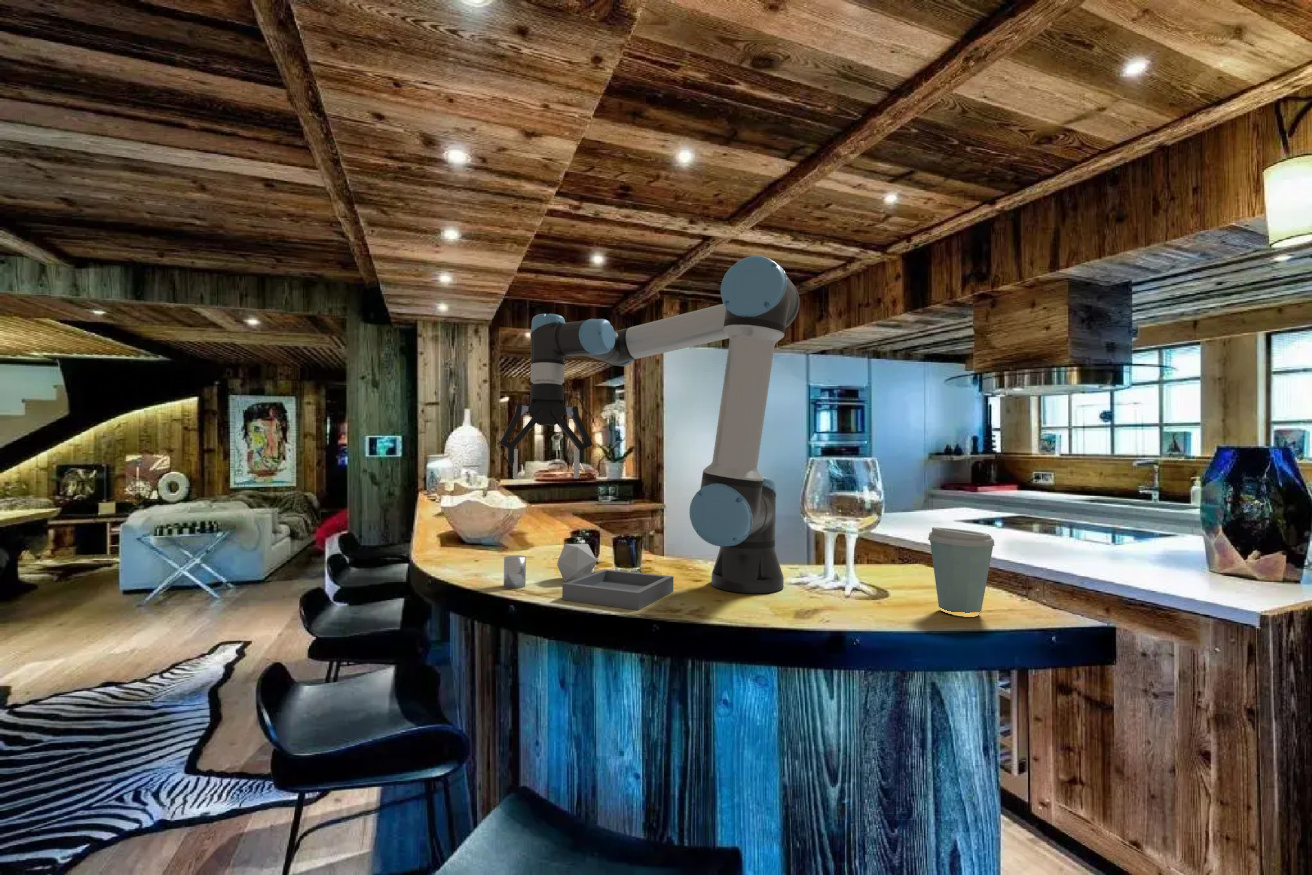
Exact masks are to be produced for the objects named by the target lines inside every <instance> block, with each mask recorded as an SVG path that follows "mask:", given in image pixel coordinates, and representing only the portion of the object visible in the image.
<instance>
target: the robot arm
mask: <svg viewBox="0 0 1312 875" xmlns="http://www.w3.org/2000/svg"><path fill="white" fill-rule="evenodd" d="M720 284H721V285H720V297H721V300H722V304H716V305H714V306H709V307H706V308H701V309H698V310H693V311H690V312H689V311H688V312H685V313H681V314H678V315H674V316H669V317H665V318H662V319H659V320H654V321H650V322H646V323H642V324H639V325H635V326H634V325H633V326H631V327H627V328H623V329H619V330H614V327H613V325H611V322H610V320H607V319H605V318H598V319H597V318H590V319H585V320H579V321H570V322H566V321H565V318H564V317H563V316H562V315H560V314H555V313H540V314H536V315H535V316H533V317H532V320H531V328H530V333H529V334H530V335H529V336H530V357H531V358H530V359H531V360H530V382H531V383H532V384H531V385H530V386H529V387H530V388H529V389H530V390H529V392H530V395H529V405H528V406H527V405H522V404H520V403H518V404H517V405H516V406H515V410H514V411H515V412H514V415H513V416H512V419H511V421H510V423H509V424H508V426H507V428H506V430H505V432H504V434H503V436H502V438H501V439H500V441H499V444H500V446H502V447H504V448H506V449H507V452H508V453H507V461H508V464H513V465H512V479H514V480H517V479H518V475H519V474H518V471H519V470H518V469H519V468H518V467H519V466H518V464H519V463H518V461H519V457H518V456H519V455H518V454H519V452H518V451H519V449H518V448H516V446H517V445H518V444H519V443H520V442H521V440H522V439H523V438H524V437H525V436H526V435H527V434H528V433H529V432H530V430H532V428H533V427H534V426H535V425H539V426H545V425H547V426H550V427H551V426H553V427H554V426H556V425H557V426H558V427H559V428H560V429H561V430H562V432H563V433H564V434H565V435H566V437H568V438H569V440H570V441H571V443H572V444H573V445H574V446H575V447H576V448H577V449H574V450H573V479H580V464H584V461H585V449H586V448H589V447H591V446H593V442H592V441H591V438H590V436H589V434H588V432H587V429H586V428H585V426H584V423H583V421H582V419H581V417H580V414H579V413H580V412H579V407H578V406H577V405H574V406H569V407H566V406H565V386H564V385H563V384H564V383H565V359H566V358H569V357H579V356H580V357H581V356H582V357H588V358H591V359H595V360H598V361H601V362H605V363H607V364H610V365H612V366H617V367H626V366H629V365H631V364H632V363H634V361H635V360H638V359H643V358H647V357H652V356H656V355H660V354H661V355H662V354H664V353H665V354H666V353H669V352H674V351H678V350H682V349H686V348H691V347H696V346H700V345H705V344H709V343H713V342H718V341H723V340H727V339H728V349H727V356H726V363H725V371H724V376H723V384H722V389H721V390H722V391H721V392H722V393H721V398H720V406H719V412H718V413H719V414H718V420H717V427H716V434H715V439H714V440H715V441H714V448H713V455H712V460H711V461H712V462H711V463H710V464H709V465H708V466H706V467H705V468H704V469H703V470H702V477H701V483H700V489H699V490H698V491H697V492H696V493H695V494H694V496H693V497H692V498H691V502H690V505H689V520H690V524H691V526H692V528H693V529H694V531H695V532H696V535H698V536H699V538H701V539H702V540H703V541H705V542H706V543H707V544H709V545H712V546H714V547H715V546H717V547H719V550H718V553H717V557H716V559H715V562H714V565H713V569H712V572H711V585H712V587H714V588H716V589H719V590H723V591H726V592H727V591H728V592H732V593H743V594H766V593H767V594H768V593H775V592H778V591H781V590H782V589H784V587H785V586H784V585H785V584H784V579H785V578H784V574H783V571H782V568H781V565H780V562H779V558H778V555H777V551H776V513H777V512H776V510H777V509H776V506H777V504H776V498H777V490H776V483H775V481H774V480H773V479H772V478H770V477H766V476H762V475H761V473H760V472H759V470H758V463H759V458H760V457H759V456H760V450H761V443H762V436H763V429H764V423H765V422H764V421H765V416H766V408H767V401H768V393H769V388H770V382H771V381H770V380H771V372H772V366H773V359H774V352H775V345H776V344H777V343H778V342H779V341H780V340H782V339H783V338H784V337H785V334H786V328H788V327H789V326H790V325H791V324H792V323H793V322H794V320H795V319H796V317H797V316H798V312H799V310H800V296H799V291H798V289H797V288H796V285H795V284H794V283H793V282H792V281H791V279H790V278H789V277H788V275H787V274H786V272H785V270H784V268H783V267H782V266H781V265H780V264H779V263H777V262H776V261H774V260H773V259H771V258H768V257H766V256H761V255H750V256H746V257H744V258H741V259H740V260H738V261H736V263H734V264H733V265H731V266H730V268H729V269H728V270H727V271H726V272H725V274H724V276H723V279H722V281H721V283H720ZM565 357H566V358H565ZM526 412H528V414H529V415H530V417H531V419H530V420H529V421H528V422H527V423H526V424H525V426H524V427H522V429H521V430H520V432H519V431H518V432H519V433H517V434H516V436H515V437H514V438H513V439H512V440H511V441H510V442H509V439H510V437H511V435H512V433H513V431H514V429H515V427H516V425H517V424H518V422H519V421H520V419H521V416H523V415H525V413H526ZM566 413H568V416H569V417H571V418H572V419H571V420H572V421H573V423H574V426H575V427H576V429H577V431H578V434H579V436H580V437H581V439H579V437H578V436H577V435H576V434H575V432H573V430H572V429H571V428H570V427H569V425H568V424H567V422H566V421H565V420H564V419H563V417H564V416H565V414H566ZM581 440H582V441H581Z"/></svg>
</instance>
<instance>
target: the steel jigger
mask: <svg viewBox="0 0 1312 875" xmlns="http://www.w3.org/2000/svg"><path fill="white" fill-rule="evenodd" d="M526 573H527V556H525V555H507V556H504V557H503V588H504V589H507V590H517V589H519V590H520V589H523V588H526V583H527V582H526V576H527V574H526Z"/></svg>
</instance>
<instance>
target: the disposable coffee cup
mask: <svg viewBox="0 0 1312 875" xmlns="http://www.w3.org/2000/svg"><path fill="white" fill-rule="evenodd" d="M927 540H928V541H929V543H930V550H931V551H930V552H931V559H932V566H933V573H934V581H935V589H936V595H937V604H938V608H939V609H940V608H942V609H944V610H947V611H951V612H965V613H970V612H980V611H981V612H982V608H983V604H984V603H983V602H984V599H985V593H986V592H985V591H986V586H987V582H988V575H989V570H990V566H991V559H992V553H993V549H994V546H995V540H994V538H993V537H992V536H991V535H990V534H989V533H985V532H979V531H975V530H974V531H973V530H968V529H959V528H950V527H934V526H933V527H931V531H930V532H929V533H928V538H927ZM981 612H980V613H981Z"/></svg>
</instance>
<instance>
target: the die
mask: <svg viewBox="0 0 1312 875" xmlns="http://www.w3.org/2000/svg"><path fill="white" fill-rule="evenodd" d="M596 562H597V559H596V557H595V555H594V553H593V551H592V549H591V547H590V545H589V544H588V543H567V544H566V543H565V544H564V545H563V548H562V550H561V552H560V554H559V557H558V560H557V563H556V564H557V568H558V570H559V572H560V574H561V577H562V579H563V582H564V583H566V582H569V581H572V580H575V579H578V578H580V577H583V576H586V575H589V574H592V573H593V570H594V567H595V564H596Z"/></svg>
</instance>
